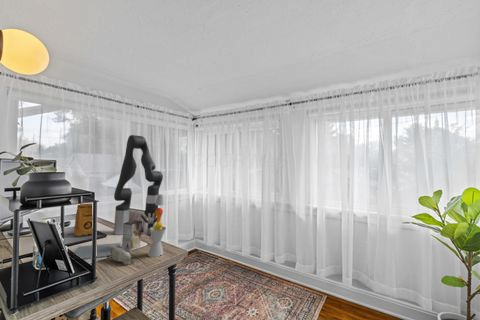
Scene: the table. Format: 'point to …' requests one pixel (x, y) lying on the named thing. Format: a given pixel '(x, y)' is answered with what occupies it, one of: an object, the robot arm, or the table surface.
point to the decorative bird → (119, 254)
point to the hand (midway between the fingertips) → (150, 229)
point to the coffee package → (83, 220)
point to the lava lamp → (157, 230)
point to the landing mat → (102, 251)
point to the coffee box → (131, 235)
